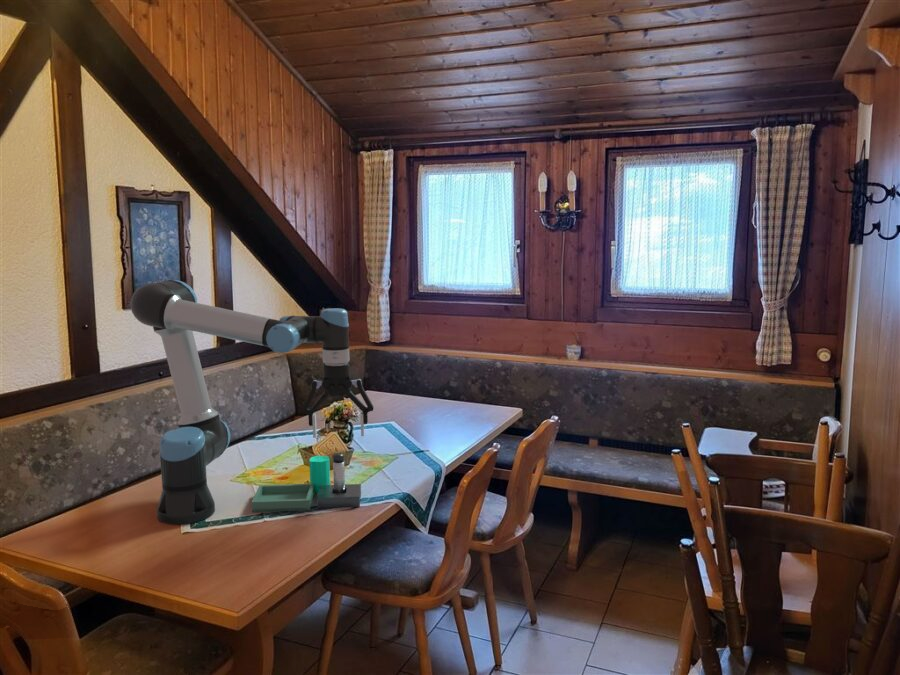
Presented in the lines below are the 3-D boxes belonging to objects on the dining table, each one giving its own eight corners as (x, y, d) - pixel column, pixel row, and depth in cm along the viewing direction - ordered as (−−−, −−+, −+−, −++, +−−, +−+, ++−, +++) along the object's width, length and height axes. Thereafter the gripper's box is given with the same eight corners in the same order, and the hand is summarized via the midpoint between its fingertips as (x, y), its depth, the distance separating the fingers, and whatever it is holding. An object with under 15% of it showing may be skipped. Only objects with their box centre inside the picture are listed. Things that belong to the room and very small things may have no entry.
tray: (251, 512, 202) (251, 502, 202) (260, 494, 215) (259, 485, 214) (309, 510, 204) (309, 500, 203) (314, 493, 216) (313, 483, 216)
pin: (333, 502, 209) (332, 456, 207) (334, 498, 212) (333, 453, 210) (344, 502, 209) (343, 456, 207) (345, 498, 212) (344, 452, 210)
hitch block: (317, 508, 205) (317, 498, 205) (320, 494, 215) (320, 485, 215) (359, 506, 206) (359, 496, 206) (360, 493, 216) (360, 484, 216)
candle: (326, 496, 215) (325, 457, 213) (307, 494, 216) (306, 456, 214) (333, 488, 221) (332, 451, 219) (314, 487, 222) (313, 449, 220)
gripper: (289, 367, 199) (293, 440, 203) (380, 364, 201) (382, 437, 205) (293, 361, 207) (296, 433, 210) (380, 359, 209) (382, 430, 212)
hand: (338, 435), depth 207 cm, fingers open, 13 cm apart
